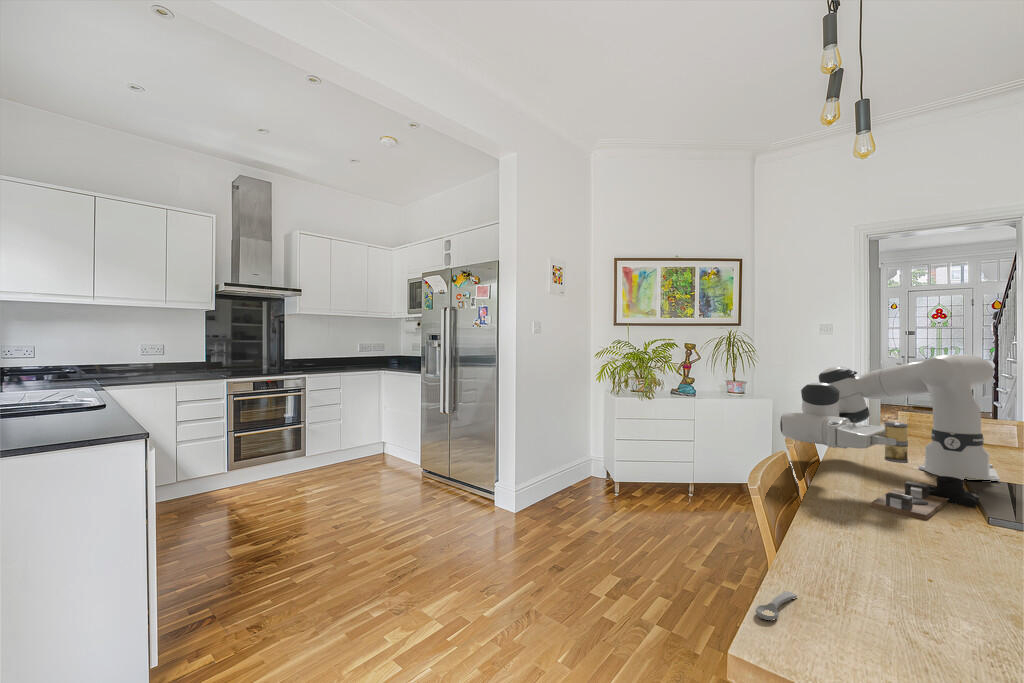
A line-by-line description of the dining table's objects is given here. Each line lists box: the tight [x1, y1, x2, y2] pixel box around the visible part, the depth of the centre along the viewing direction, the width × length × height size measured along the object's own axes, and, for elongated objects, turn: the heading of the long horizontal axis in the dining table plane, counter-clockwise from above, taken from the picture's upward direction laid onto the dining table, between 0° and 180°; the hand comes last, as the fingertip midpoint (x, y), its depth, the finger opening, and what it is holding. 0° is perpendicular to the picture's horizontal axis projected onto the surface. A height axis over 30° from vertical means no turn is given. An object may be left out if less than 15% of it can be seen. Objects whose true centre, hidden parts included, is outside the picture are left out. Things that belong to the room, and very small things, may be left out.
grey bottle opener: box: [755, 591, 798, 621], centre depth 74 cm, size 3×12×2 cm, turn 128°
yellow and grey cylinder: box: [884, 421, 909, 464], centre depth 122 cm, size 5×5×10 cm
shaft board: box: [870, 480, 948, 521], centre depth 120 cm, size 20×11×4 cm, turn 126°
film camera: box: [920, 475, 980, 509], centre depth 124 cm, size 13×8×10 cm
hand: (900, 440), depth 121 cm, fingers closed on yellow and grey cylinder, 5 cm apart
